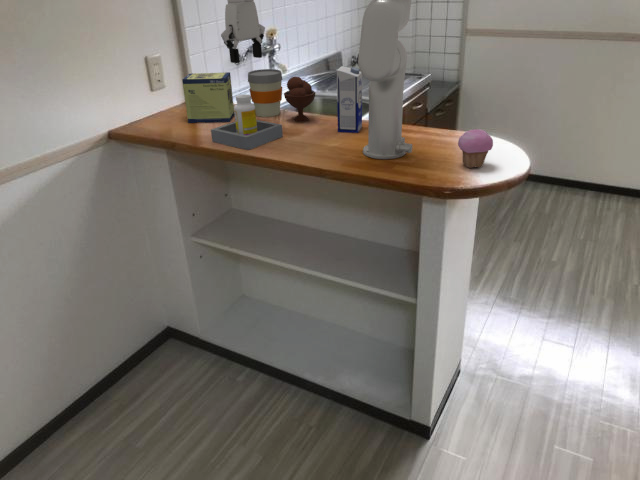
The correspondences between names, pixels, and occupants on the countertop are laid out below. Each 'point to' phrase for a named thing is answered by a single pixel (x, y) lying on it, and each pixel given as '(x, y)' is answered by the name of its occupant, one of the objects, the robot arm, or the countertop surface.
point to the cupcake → (475, 147)
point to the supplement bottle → (245, 115)
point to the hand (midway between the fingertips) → (246, 60)
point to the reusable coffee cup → (266, 91)
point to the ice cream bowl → (299, 96)
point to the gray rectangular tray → (247, 142)
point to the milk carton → (349, 99)
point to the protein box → (208, 97)
